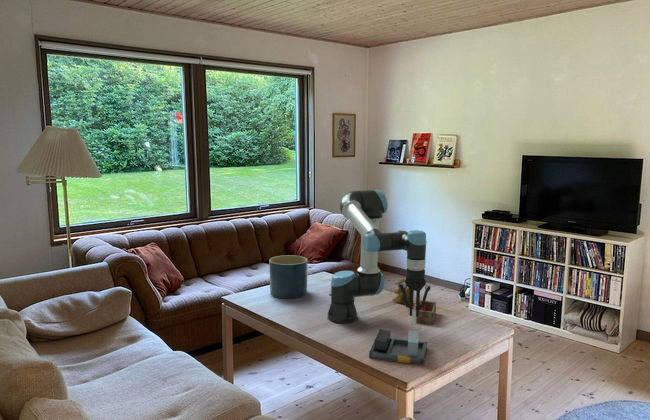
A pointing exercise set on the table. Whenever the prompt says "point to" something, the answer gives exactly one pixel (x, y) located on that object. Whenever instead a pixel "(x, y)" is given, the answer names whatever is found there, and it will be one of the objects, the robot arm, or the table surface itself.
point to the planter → (288, 276)
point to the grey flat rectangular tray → (395, 349)
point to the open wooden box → (427, 313)
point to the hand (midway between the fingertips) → (414, 323)
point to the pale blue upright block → (413, 343)
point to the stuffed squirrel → (400, 298)
